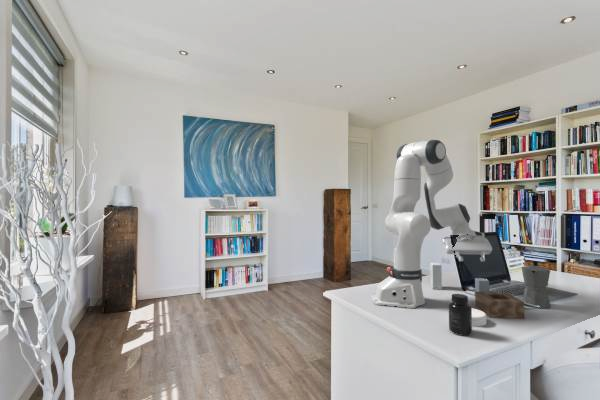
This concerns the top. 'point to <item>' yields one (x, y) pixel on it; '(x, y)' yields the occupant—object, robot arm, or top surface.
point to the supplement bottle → (460, 315)
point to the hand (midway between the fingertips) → (472, 260)
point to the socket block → (499, 305)
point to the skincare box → (435, 276)
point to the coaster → (478, 317)
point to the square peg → (481, 285)
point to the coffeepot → (536, 285)
